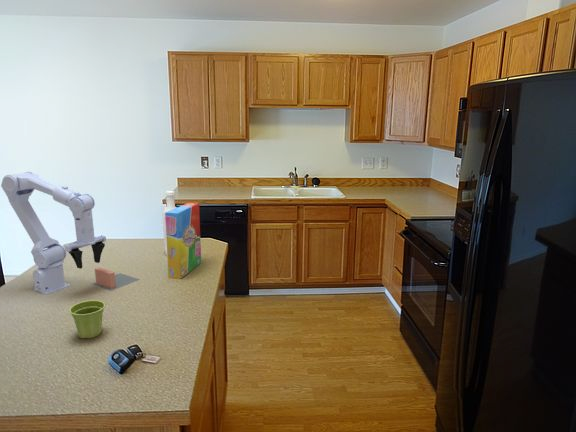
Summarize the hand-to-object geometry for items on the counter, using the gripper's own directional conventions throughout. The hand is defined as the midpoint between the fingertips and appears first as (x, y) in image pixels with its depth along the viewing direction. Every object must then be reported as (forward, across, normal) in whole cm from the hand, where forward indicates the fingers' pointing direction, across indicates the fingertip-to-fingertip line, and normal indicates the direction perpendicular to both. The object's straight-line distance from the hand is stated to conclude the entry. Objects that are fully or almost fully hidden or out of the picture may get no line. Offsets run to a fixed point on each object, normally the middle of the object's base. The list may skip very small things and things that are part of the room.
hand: (88, 265), depth 146 cm
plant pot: (+11, -18, -27) cm, 34 cm away
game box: (+11, +35, -13) cm, 39 cm away
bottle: (+11, +47, +7) cm, 48 cm away
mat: (+10, +10, 0) cm, 15 cm away
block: (+10, +6, 0) cm, 12 cm away
